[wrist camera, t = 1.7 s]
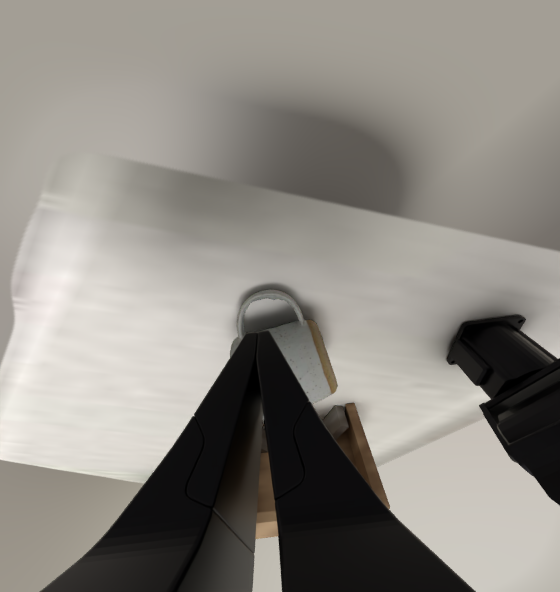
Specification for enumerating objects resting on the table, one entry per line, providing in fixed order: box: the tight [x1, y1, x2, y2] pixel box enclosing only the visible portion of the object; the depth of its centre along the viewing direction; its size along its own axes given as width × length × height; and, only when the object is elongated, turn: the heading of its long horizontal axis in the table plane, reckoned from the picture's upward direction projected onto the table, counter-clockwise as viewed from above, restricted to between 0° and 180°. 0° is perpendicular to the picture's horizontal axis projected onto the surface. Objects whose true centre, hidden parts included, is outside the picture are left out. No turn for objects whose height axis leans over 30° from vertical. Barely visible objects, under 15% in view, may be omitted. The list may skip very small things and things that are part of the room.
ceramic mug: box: [230, 289, 338, 420], centre depth 21 cm, size 11×8×8 cm
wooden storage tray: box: [255, 403, 390, 539], centre depth 30 cm, size 18×6×11 cm, turn 97°
